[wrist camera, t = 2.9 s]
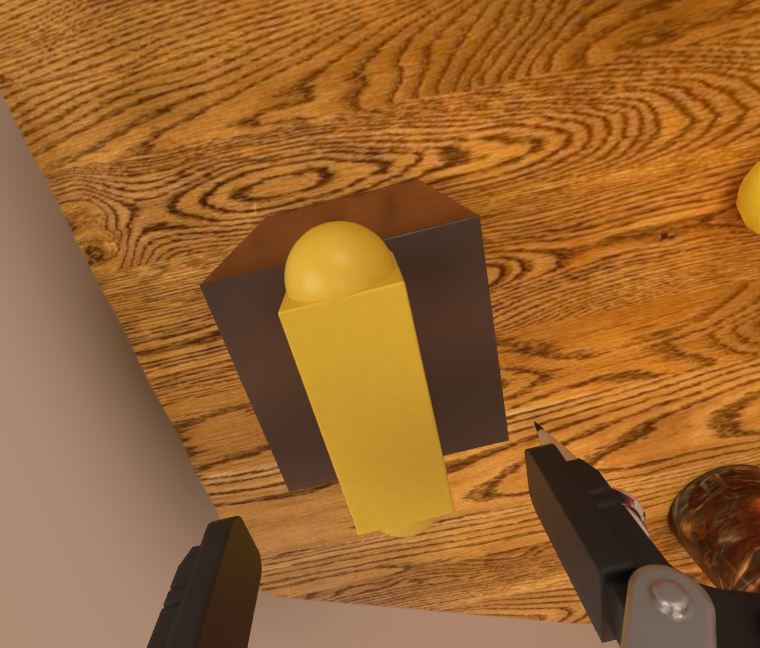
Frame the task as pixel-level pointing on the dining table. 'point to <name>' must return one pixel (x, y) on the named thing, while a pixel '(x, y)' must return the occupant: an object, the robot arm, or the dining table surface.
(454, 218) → the block
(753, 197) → the lemon
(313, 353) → the yellow ball-topped peg
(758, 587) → the jar
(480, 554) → the dining table surface
